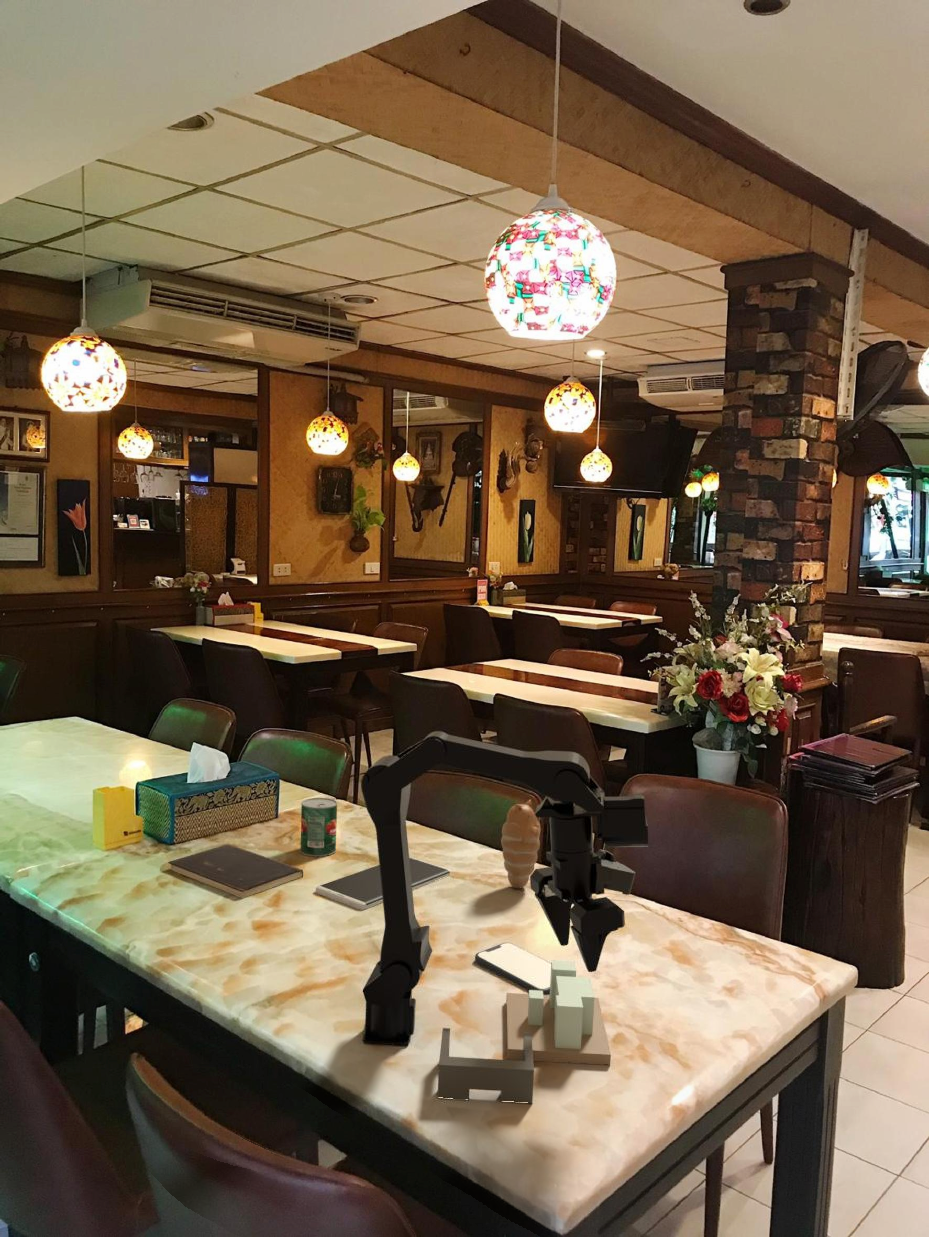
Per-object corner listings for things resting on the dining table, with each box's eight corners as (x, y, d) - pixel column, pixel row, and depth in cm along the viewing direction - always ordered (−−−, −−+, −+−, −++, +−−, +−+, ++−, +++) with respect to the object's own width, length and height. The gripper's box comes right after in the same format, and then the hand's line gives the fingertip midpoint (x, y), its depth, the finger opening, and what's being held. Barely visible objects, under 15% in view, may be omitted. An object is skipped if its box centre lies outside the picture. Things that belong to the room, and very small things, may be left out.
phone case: (578, 985, 155) (507, 949, 166) (579, 975, 154) (508, 940, 166) (541, 1001, 149) (470, 963, 160) (542, 992, 148) (471, 954, 160)
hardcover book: (241, 901, 183) (242, 890, 182) (168, 872, 196) (168, 861, 196) (303, 879, 195) (303, 868, 195) (230, 853, 209) (230, 843, 209)
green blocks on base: (507, 1059, 131) (510, 1006, 130) (506, 1002, 146) (508, 955, 146) (610, 1065, 130) (613, 1012, 129) (597, 1007, 146) (600, 960, 145)
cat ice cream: (522, 898, 188) (526, 809, 187) (490, 888, 193) (494, 801, 191) (546, 886, 195) (550, 800, 194) (514, 877, 200) (518, 793, 198)
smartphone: (452, 877, 200) (452, 869, 200) (362, 913, 179) (362, 904, 179) (405, 862, 209) (405, 854, 209) (313, 894, 187) (313, 886, 187)
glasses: (532, 1104, 120) (534, 1070, 120) (437, 1098, 121) (438, 1064, 120) (529, 1064, 129) (531, 1032, 129) (441, 1059, 130) (442, 1027, 129)
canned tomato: (295, 847, 213) (297, 799, 212) (330, 843, 217) (331, 796, 216) (305, 858, 206) (306, 808, 205) (340, 854, 209) (342, 805, 208)
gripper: (658, 857, 123) (663, 974, 125) (596, 820, 141) (601, 923, 142) (579, 871, 120) (585, 991, 121) (526, 831, 138) (531, 936, 139)
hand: (577, 957), depth 131 cm, fingers open, 9 cm apart
